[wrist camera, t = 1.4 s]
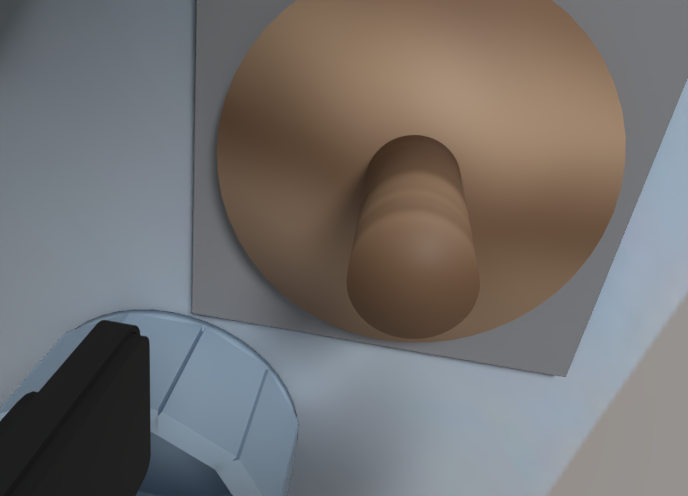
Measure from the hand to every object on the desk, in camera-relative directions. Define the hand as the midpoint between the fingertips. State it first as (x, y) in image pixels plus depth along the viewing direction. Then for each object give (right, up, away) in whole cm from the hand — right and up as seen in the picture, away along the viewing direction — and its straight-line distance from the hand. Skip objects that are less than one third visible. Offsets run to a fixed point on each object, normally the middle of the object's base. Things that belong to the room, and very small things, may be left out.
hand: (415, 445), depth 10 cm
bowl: (-9, -4, +16) cm, 18 cm away
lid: (+1, +6, +9) cm, 11 cm away
